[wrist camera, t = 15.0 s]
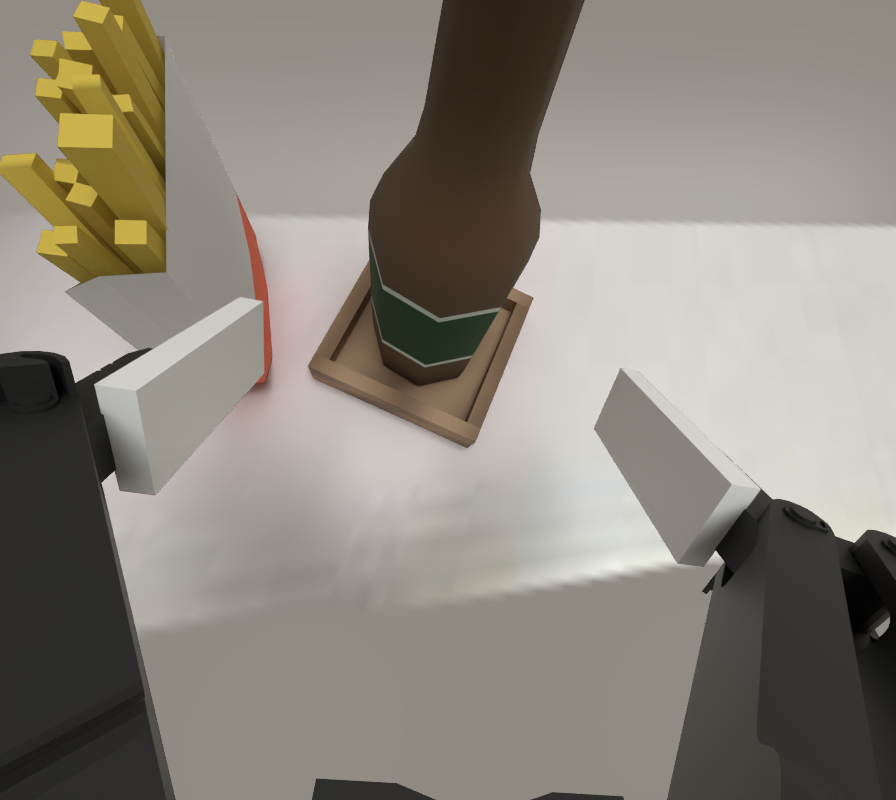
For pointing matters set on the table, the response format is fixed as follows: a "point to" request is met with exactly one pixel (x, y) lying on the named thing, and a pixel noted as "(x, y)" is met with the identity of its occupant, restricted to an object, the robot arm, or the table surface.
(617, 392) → the robot arm
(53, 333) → the table surface
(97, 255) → the french fries container
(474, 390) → the wooden tray
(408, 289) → the beer bottle
